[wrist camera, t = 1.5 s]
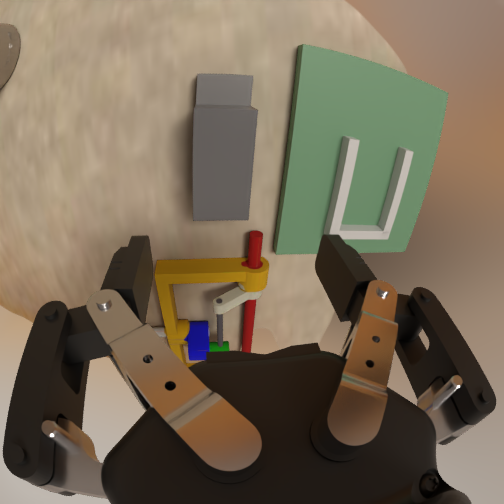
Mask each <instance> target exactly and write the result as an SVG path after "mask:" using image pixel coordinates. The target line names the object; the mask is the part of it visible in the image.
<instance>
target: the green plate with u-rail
mask: <svg viewBox="0 0 504 504" xmlns="http://www.w3.org/2000/svg"><path fill="white" fill-rule="evenodd" d="M447 98H448V93H447V92H445V91H443V90H441V89H439V88H437V87H435V86H432V85H430V84H428V83H426V82H424V81H422V80H419V79H417V78H415V77H412V76H410V75H407V74H405V73H402V72H400V71H397V70H394V69H392V68H389V67H386V66H383V65H381V64H378V63H375V62H372V61H368V60H365V59H362V58H359V57H355V56H352V55H348V54H344V53H341V52H337V51H333V50H328V49H324V48H320V47H315V46H310V45H305V44H302V45H299V46H298V55H297V65H296V74H295V83H294V92H293V101H292V109H291V118H290V126H289V134H288V143H287V151H286V158H285V166H284V174H283V182H282V189H281V196H280V204H279V211H278V218H277V225H276V232H275V239H274V246H273V248H274V251H275V253H276V255H278V254H317V253H318V249H319V245H320V241H321V238H322V236H323V235H324V234H338V235H340V237H341V238H342V239H343V241H344V242H345V243H346V244H348V245H350V246H351V247H352V248H354V249H355V250H356V251H357V252H358V253H368V252H370V253H371V252H404V251H405V249H406V247H407V244H408V241H409V239H410V236H411V234H412V231H413V228H414V225H415V223H416V220H417V217H418V214H419V211H420V208H421V205H422V202H423V199H424V196H425V192H426V189H427V186H428V182H429V179H430V176H431V172H432V168H433V164H434V161H435V157H436V153H437V148H438V144H439V140H440V136H441V131H442V126H443V121H444V116H445V110H446V104H447Z"/></svg>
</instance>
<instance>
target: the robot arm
mask: <svg viewBox="0 0 504 504" xmlns="http://www.w3.org/2000/svg"><path fill="white" fill-rule="evenodd" d="M19 50H20V37H19V33H18V31H17V29H16V28H15V27H14V26H13V25H10V24H3V23H0V89H1V88H2V86H3V85H4V84H5V83H6V82H7V80H8V79H9V77H10V76H11V74H12V72H13V70H14V68H15V65H16V63H17V59H18V56H19ZM315 270H316V273H317V275H318V277H319V279H320V281H321V283H322V285H323V287H324V289H325V291H326V293H327V295H328V297H329V299H330V301H331V303H332V305H333V307H334V309H335V311H336V313H337V315H338V318H339V320H340V321H341V322H344V321H351V326H350V327H349V330H348V333H347V336H346V339H345V341H344V344H343V347H342V349H341V352H340V355H337V354H334V353H330V352H326V351H320V348H319V346H318V343H311V344H303V345H295V346H290V347H287V348H284V349H281V350H278V351H275V352H272V353H269V354H256V353H248V352H241V351H215V352H206V360H205V361H201V362H198V363H196V364H193V365H192V366H190V367H187V366H186V365H185V364H184V363H183V362H182V361H181V360H180V359H179V358H178V357H177V356H176V355H175V353H174V352H173V351H172V350H171V349H170V348H169V347H168V346H167V345H166V343H165V342H164V341H163V340H162V339H161V338H160V337H159V335H158V334H157V333H156V332H155V331H154V330H153V328H152V327H151V326H150V325H149V324H147V323H145V321H146V314H147V308H148V302H149V296H150V290H151V284H152V279H153V262H152V255H151V248H150V240H149V236H148V235H146V236H132V237H131V239H130V242H129V245H128V247H121V248H120V249H119V250H118V251H117V252H116V253H115V254H114V256H113V258H112V261H111V263H110V266H109V269H108V271H107V274H106V276H105V279H104V282H103V284H102V287H101V290H100V291H98V292H96V293H94V294H93V295H91V296H90V298H89V299H88V301H87V305H85V306H81V307H77V308H73V309H69V310H68V309H67V307H66V305H65V304H64V303H63V302H61V301H51V302H48V303H46V304H45V305H43V306H42V307H41V308H40V310H39V311H38V313H37V315H36V318H35V321H34V323H33V326H32V329H31V332H30V334H29V337H28V340H27V343H26V346H25V349H24V353H23V355H22V359H21V362H20V366H19V369H18V373H17V376H16V380H15V384H14V388H13V392H12V397H11V401H10V406H9V411H8V417H7V423H6V430H5V436H4V445H3V458H4V462H5V464H6V466H7V468H8V469H9V471H11V473H12V474H14V475H15V476H17V477H19V478H21V479H23V480H26V481H28V482H29V483H31V484H33V485H35V486H37V487H40V488H43V489H45V490H48V491H50V492H54V493H59V494H62V495H66V496H72V495H75V494H76V493H77V494H82V495H87V496H93V497H99V498H106V499H108V500H109V501H110V503H111V504H471V501H470V500H469V498H468V497H467V496H466V495H465V494H464V493H462V492H460V491H458V490H456V489H454V488H452V487H451V486H449V485H448V484H447V483H446V482H444V480H442V478H441V476H440V475H439V473H438V470H437V465H436V444H437V443H438V444H442V445H446V444H448V443H450V442H451V441H453V440H454V439H456V438H457V437H459V436H460V435H462V434H463V433H465V432H466V431H468V430H469V429H470V428H472V427H473V426H474V425H476V424H477V423H478V422H480V421H481V420H482V419H484V418H485V417H486V416H487V415H489V414H490V413H491V412H492V411H493V410H494V409H495V406H496V397H495V394H494V392H493V389H492V388H491V386H490V384H489V382H488V380H487V378H486V376H485V374H484V373H483V371H482V369H481V367H480V365H479V363H478V362H477V360H476V358H475V356H474V355H473V353H472V351H471V350H470V348H469V346H468V345H467V343H466V341H465V340H464V338H463V337H462V335H461V333H460V332H459V330H458V329H457V327H456V326H455V324H454V323H453V321H452V319H451V318H450V316H449V315H448V313H447V312H446V311H445V309H444V308H443V306H442V305H441V303H440V302H439V300H438V299H437V298H436V296H435V295H434V294H433V293H432V292H431V291H429V290H428V289H425V288H422V287H416V288H414V290H413V291H412V293H411V295H410V296H409V295H403V294H397V291H396V289H395V288H394V287H393V286H392V285H391V284H389V283H387V282H385V281H382V280H377V278H376V277H375V276H374V274H373V273H372V271H371V270H370V269H369V267H368V266H367V264H365V262H364V260H363V259H362V258H361V256H360V255H359V254H358V252H357V251H356V250H355V249H354V248H352V247H351V246H350V245H348V244H346V243H345V242H344V241H343V239H342V238H341V237H340V235H338V234H324V235H323V236H322V238H321V241H320V245H319V249H318V253H317V257H316V261H315ZM422 329H423V330H424V332H425V333H426V335H427V337H428V339H429V342H430V343H429V348H428V350H426V348H425V346H424V344H423V343H422V341H421V339H420V337H419V333H420V332H421V330H422ZM394 349H395V351H396V353H397V355H398V357H399V359H400V361H401V364H402V366H403V368H404V370H405V372H406V374H407V377H408V379H409V381H410V383H411V386H412V388H413V390H414V392H415V395H416V397H417V399H418V401H417V406H416V405H415V404H413V403H412V402H410V401H408V400H407V399H405V398H404V397H402V396H401V395H399V394H398V393H396V392H394V391H393V390H391V389H390V388H388V387H387V384H388V380H389V375H390V370H391V365H392V360H393V355H394ZM105 356H109V358H110V359H111V361H112V362H113V364H114V365H115V367H116V369H117V370H118V372H119V373H120V375H121V376H122V378H123V379H124V381H125V382H126V383H127V385H128V386H129V388H130V389H131V390H132V392H133V393H134V395H135V397H136V399H137V400H138V401H139V403H140V404H141V406H142V407H143V408H144V409H145V411H146V412H145V413H144V414H143V415H142V416H141V417H140V419H139V420H138V421H137V422H136V423H135V424H134V425H133V426H132V427H131V429H130V430H129V431H128V432H127V433H126V434H125V435H124V436H123V438H122V439H121V440H120V441H119V442H118V443H117V444H116V445H115V446H114V447H113V449H112V450H111V451H110V452H109V453H108V455H107V456H106V458H105V460H104V462H103V463H100V462H99V460H98V459H97V457H96V454H95V448H94V444H93V442H92V440H91V439H90V437H89V436H88V435H87V434H85V433H84V432H83V431H82V423H83V410H84V401H85V391H86V384H87V376H88V369H89V363H90V360H92V359H96V358H101V357H105Z"/></svg>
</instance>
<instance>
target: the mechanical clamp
mask: <svg viewBox="0 0 504 504" xmlns="http://www.w3.org/2000/svg"><path fill="white" fill-rule="evenodd" d="M262 239H263V233H262V232H260V231H251V232H250V237H249V251H248V257H242V258H211V259H179V260H157V264H156V269H155V274H154V275H155V281H156V286H157V291H158V296H159V301H160V306H161V310H162V315H163V320H164V324H165V327H152V328H153V330H154V331H155V332H156V333H157V334H158V335H159V337H167V338H168V343H169V345H170V349H171V350H172V351H173V352H174V353H175V355H176V356H177V357H178V358H179V359H180V360H181V361H182V362H183V363H184V364H185V365H186V366H187V367H190V366H192V365H193V364H196V363H186V359H185V354H184V349H183V344H188V354H189V360H206V352H215V351H229V342H228V341H223V313H225V312H227V311H229V310H231V309H232V308H234V307H236V306H238V305H240V304H241V303H243V302H245V309H244V324H243V338H242V351H241V352H248V353H251V344H252V335H253V326H254V316H255V307H256V299H258V298H259V297H260V296H261V293H262V290H263V289H264V288H265V287H266V285H267V278H268V270H269V262H268V261H267V260H266V259H265V258H263V257H261V249H262ZM219 282H238V285H239V286H238V287H236V288H234V289H232V290H230V291H228V292H226V293H224V294H222V295H220V296H219V297H217V298H215V299H214V300H213V311H214V313H216V314H217V340H218V342H209V336H210V330H209V326H208V321H201V322H188V319H183V320H178V317H177V311H176V305H175V299H174V293H173V286H172V284H188V283H219Z"/></svg>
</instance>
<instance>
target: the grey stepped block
mask: <svg viewBox="0 0 504 504" xmlns="http://www.w3.org/2000/svg"><path fill="white" fill-rule="evenodd" d="M252 84H253V76H250V75H234V74H198V75H197V93H196V105H195V107H194V120H193V221H214V220H248V219H249V207H250V195H251V183H252V172H253V160H254V149H255V137H256V126H257V115H258V110H257V109H255V108H253V107H252V106H251V96H252Z"/></svg>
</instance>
